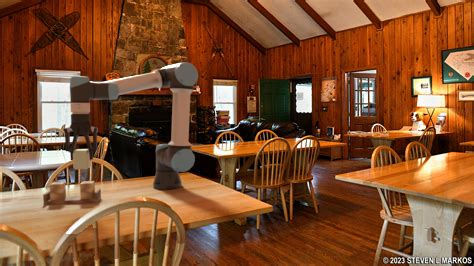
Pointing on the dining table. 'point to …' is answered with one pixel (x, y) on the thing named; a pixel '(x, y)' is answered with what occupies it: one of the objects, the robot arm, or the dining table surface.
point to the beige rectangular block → (80, 159)
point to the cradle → (59, 196)
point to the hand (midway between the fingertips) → (82, 167)
